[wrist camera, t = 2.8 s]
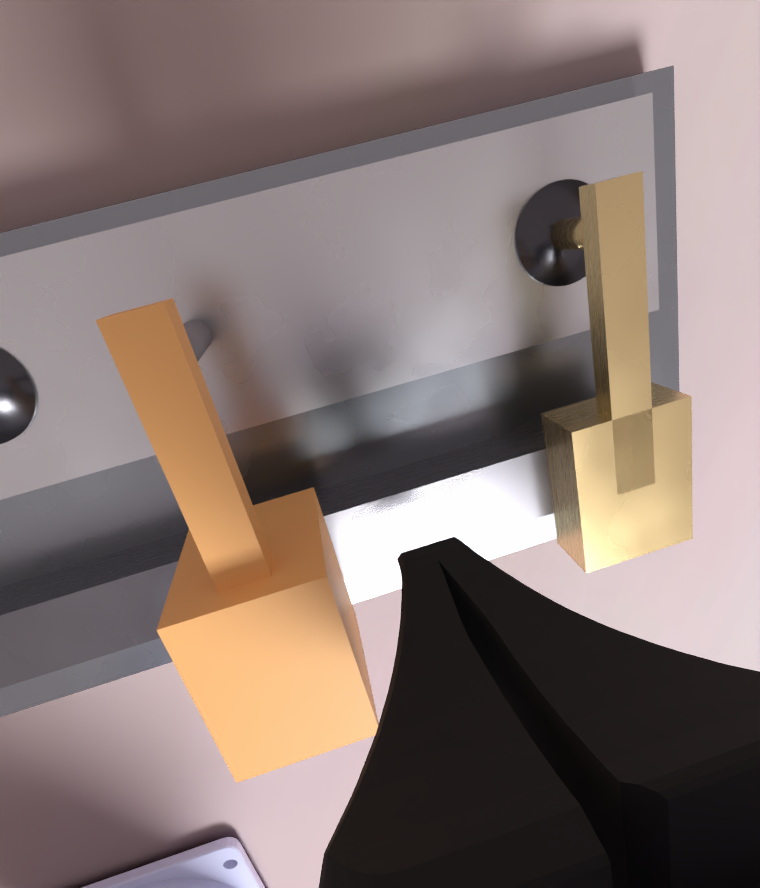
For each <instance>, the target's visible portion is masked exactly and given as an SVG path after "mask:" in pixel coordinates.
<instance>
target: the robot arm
mask: <svg viewBox="0 0 760 888" xmlns="http://www.w3.org/2000/svg"><path fill="white" fill-rule="evenodd" d="M397 561H398V564H399V568H400V572H401V581H402V602H401V621H400V629H399V637H398V645H397V652H396V658H395V663H394V668H393V673H392V677H391V682H390V686H389V690H388V694H387V698H386V701H385V705H384V708H383V712H382V715H381V719H380V722H379V725H378V728H377V732H376V735H375V737H374V740H373V743H372V746H371V748H370V751H369V754H368V756H367V759H366V761H365V764H364V767H363V769H362V772H361V774H360V777H359V779H358V782H357V785H356V787H355V789H354V792H353V794H352V796H351V798H350V801H349V803H348V805H347V807H346V809H345V811H344V813H343V815H342V817H341V819H340V821H339V824H338V826H337V828H336V830H335V832H334V834H333V836H332V838H331V840H330V842H329V844H328V846H327V849H326V851H325V853H324V858H323V864H322V870H321V877H320V884H319V888H760V672H758V671H754V670H749V669H744V668H740V667H735V666H731V665H726V664H722V663H718V662H715V661H711V660H708V659H704V658H700V657H697V656H693V655H690V654H686V653H682V652H679V651H676V650H673V649H669V648H666V647H663V646H660V645H657V644H654V643H651V642H648V641H645V640H643V639H640V638H637V637H634V636H631V635H629V634H626V633H623V632H620V631H618V630H615V629H613V628H610V627H608V626H605V625H603V624H600V623H598V622H596V621H594V620H591V619H589V618H587V617H585V616H582V615H580V614H578V613H576V612H574V611H571V610H569V609H567V608H565V607H564V606H562V605H560V604H558V603H556V602H554V601H552V600H550V599H549V598H547V597H545V596H543V595H541V594H540V593H538V592H536V591H534V590H533V589H531V588H529V587H528V586H526V585H524V584H523V583H521V582H520V581H518V580H516V579H515V578H513V577H512V576H510V575H509V574H507V573H505V572H504V571H502V570H501V569H499V568H498V567H496V566H495V565H493V564H492V563H491V562H489V561H488V560H486V559H485V558H484V557H482V556H481V555H479V554H478V553H477V552H475V551H474V550H473V549H471V548H470V547H469V546H467V545H466V544H465V543H463V542H462V541H461V540H460V539H458V538H456V537H451V538H447V539H444V540H441V541H438V542H435V543H431V544H428V545H425V546H422V547H419V548H415V549H412V550H409V551H406V552H403V553H401V554H400V555H399V557H398V558H397ZM81 888H265V887H264V885H263V883H262V881H261V879H260V878H259V876H258V874H257V872H256V870H255V869H254V867H253V865H252V863H251V862H250V860H249V858H248V856H247V854H246V853H245V851H244V849H243V847H242V845H241V844H240V842H239V841H238V840H237V839H236V838H233V837H225V838H221V839H218V840H215V841H212V842H210V843H207V844H204V845H201V846H198V847H195V848H192V849H190V850H187V851H184V852H181V853H178V854H175V855H173V856H170V857H167V858H164V859H161V860H158V861H155V862H153V863H150V864H147V865H144V866H141V867H138V868H136V869H133V870H130V871H127V872H124V873H121V874H118V875H116V876H113V877H110V878H107V879H104V880H101V881H98V882H96V883H93V884H90V885H87V886H84V887H81Z"/></svg>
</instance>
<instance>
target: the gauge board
mask: <svg viewBox="0 0 760 888" xmlns="http://www.w3.org/2000/svg"><path fill="white" fill-rule="evenodd" d="M171 298H173V299H174V302H175V304H176V307H177V310H178V312H179V315H180V317H181V320H182V323H183V324H184V323H186V322H188V321H193V320H194V321H199V322H202V323H204V324H205V325H206V326H207V327H208V328H209V330H210V332H211V336H212V340H211V344H210V346H209V347H208V348H207V350H206V351H205V353H204V354H203V355H202V357H201V358H200V360H199V361H198V364H199V367H200V369H201V372H202V375H203V377H204V380H205V382H206V385H207V388H208V390H209V393H210V395H211V398H212V400H213V403H214V406H215V408H216V411H217V413H218V416H219V419H220V421H221V424H222V426H223V429H224V432H225V434H226V437H227V439H228V442H229V445H230V447H231V450H232V452H233V455H234V458H235V460H236V463H237V465H238V468H239V471H240V473H241V476H242V478H243V481H244V484H245V486H246V489H247V491H248V494H249V497H250V499H251V502H252V504H253V505H256V504H259V503H263V502H266V501H269V500H273V499H276V498H279V497H283V496H286V495H289V494H292V493H296V492H299V491H302V490H306V489H309V488H312V487H314V489H315V492H316V495H317V499H318V502H319V505H320V508H321V511H322V514H323V517H324V520H325V523H326V526H327V529H328V532H329V535H330V538H331V541H332V544H333V547H334V550H335V553H336V557H337V560H338V563H339V566H340V569H341V572H342V575H343V578H344V581H345V584H346V587H347V590H348V593H349V596H350V599H351V602H352V604H354V603H357V602H360V601H363V600H366V599H369V598H372V597H375V596H378V595H382V594H385V593H388V592H391V591H394V590H397V589H400V588H402V581H401V572H400V568H399V564H398V561H397V558H398V557H399V555H400V554H401V553H403V552H406V551H409V550H412V549H415V548H419V547H422V546H425V545H428V544H431V543H435V542H438V541H441V540H444V539H447V538H451V537H456V538H458V539H460V540H461V541H462V542H463V543H465V544H466V545H467V546H469V547H470V548H471V549H473V550H474V551H475V552H477V553H478V554H479V555H481V556H482V557H484V558H485V559H486V560H491V559H494V558H497V557H500V556H503V555H506V554H509V553H512V552H515V551H519V550H522V549H525V548H528V547H531V546H534V545H537V544H540V543H543V542H547V541H550V540H553V539H556V538H557V542H558V544H559V545H560V546H561V547H562V548H563V549H564V550H565V551H566V552H567V553H568V555H569V556H570V557H571V558H572V559H573V560H574V561H575V562H576V563H577V564H578V565H579V566H580V567H581V568H582V569H583V570H584V571H585V572H586V573H589V572H592V571H595V570H598V569H601V568H604V567H607V566H610V565H613V564H617V563H620V562H623V561H626V560H629V559H632V558H635V557H638V556H641V555H644V554H647V553H650V552H653V551H656V550H659V549H662V548H665V547H668V546H671V545H674V544H677V543H680V542H683V541H687V540H690V539H693V537H692V411H691V396H689V395H687V394H684V393H681V392H679V349H678V292H677V234H676V177H675V119H674V66H670V67H666V68H662V69H658V70H654V71H650V72H646V73H642V74H637V75H633V76H629V77H625V78H621V79H617V80H613V81H609V82H605V83H601V84H597V85H593V86H589V87H585V88H581V89H577V90H573V91H569V92H565V93H561V94H557V95H553V96H549V97H545V98H541V99H537V100H533V101H529V102H525V103H521V104H517V105H513V106H509V107H505V108H501V109H497V110H493V111H489V112H485V113H481V114H477V115H473V116H469V117H465V118H461V119H457V120H452V121H448V122H444V123H440V124H436V125H432V126H428V127H424V128H420V129H416V130H412V131H408V132H404V133H400V134H396V135H392V136H388V137H384V138H380V139H376V140H372V141H368V142H364V143H360V144H356V145H352V146H348V147H344V148H340V149H336V150H332V151H328V152H324V153H320V154H316V155H312V156H308V157H304V158H300V159H296V160H292V161H288V162H284V163H280V164H276V165H272V166H268V167H263V168H259V169H255V170H251V171H247V172H243V173H239V174H235V175H231V176H227V177H223V178H219V179H215V180H211V181H207V182H203V183H199V184H195V185H191V186H187V187H183V188H179V189H175V190H171V191H167V192H163V193H159V194H155V195H151V196H147V197H143V198H139V199H135V200H131V201H127V202H123V203H119V204H115V205H111V206H107V207H103V208H99V209H95V210H91V211H87V212H83V213H78V214H74V215H70V216H66V217H62V218H58V219H54V220H50V221H46V222H42V223H38V224H34V225H30V226H26V227H22V228H18V229H14V230H10V231H6V232H2V233H0V717H2V716H5V715H8V714H11V713H14V712H17V711H20V710H23V709H27V708H30V707H33V706H36V705H39V704H42V703H45V702H48V701H51V700H55V699H58V698H61V697H64V696H67V695H70V694H73V693H76V692H79V691H83V690H86V689H89V688H92V687H95V686H98V685H101V684H104V683H108V682H111V681H114V680H117V679H120V678H123V677H126V676H129V675H132V674H136V673H139V672H142V671H145V670H148V669H151V668H154V667H157V666H160V665H164V664H167V663H170V662H173V661H172V659H171V657H170V655H169V653H168V651H167V649H166V647H165V646H164V644H163V642H162V640H161V638H160V636H159V634H158V632H157V627H158V624H159V621H160V618H161V615H162V611H163V608H164V605H165V602H166V599H167V596H168V593H169V590H170V587H171V583H172V580H173V577H174V574H175V571H176V568H177V565H178V562H179V559H180V555H181V552H182V549H183V546H184V543H185V540H186V537H187V534H188V531H189V527H188V525H187V523H186V521H185V518H184V516H183V514H182V512H181V509H180V507H179V505H178V503H177V501H176V498H175V496H174V494H173V492H172V489H171V487H170V485H169V483H168V480H167V478H166V476H165V474H164V472H163V469H162V467H161V465H160V463H159V460H158V458H157V456H156V454H155V451H154V449H153V447H152V445H151V443H150V440H149V438H148V436H147V434H146V431H145V429H144V427H143V425H142V422H141V420H140V418H139V416H138V414H137V411H136V409H135V407H134V405H133V402H132V400H131V398H130V396H129V394H128V391H127V389H126V387H125V385H124V382H123V380H122V378H121V376H120V373H119V371H118V369H117V367H116V365H115V362H114V360H113V358H112V356H111V353H110V351H109V349H108V347H107V344H106V342H105V340H104V338H103V336H102V333H101V331H100V329H99V327H98V324H97V322H96V320H98V319H100V318H103V317H105V316H108V315H111V314H115V313H118V312H122V311H126V310H130V309H133V308H137V307H141V306H145V305H148V304H152V303H156V302H160V301H164V300H167V299H171Z"/></svg>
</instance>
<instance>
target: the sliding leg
mask: <svg viewBox="0 0 760 888" xmlns="http://www.w3.org/2000/svg"><path fill="white" fill-rule="evenodd" d="M96 322H97V324H98V327H99V329H100V331H101V333H102V336H103V338H104V340H105V342H106V344H107V347H108V349H109V351H110V353H111V356H112V358H113V360H114V362H115V365H116V367H117V369H118V371H119V373H120V376H121V378H122V380H123V382H124V385H125V387H126V389H127V391H128V394H129V396H130V398H131V400H132V402H133V405H134V407H135V409H136V411H137V414H138V416H139V418H140V420H141V422H142V425H143V427H144V429H145V431H146V434H147V436H148V438H149V440H150V443H151V445H152V447H153V449H154V451H155V454H156V456H157V458H158V460H159V463H160V465H161V467H162V469H163V472H164V474H165V476H166V478H167V480H168V483H169V485H170V487H171V489H172V492H173V494H174V496H175V498H176V501H177V503H178V505H179V507H180V509H181V512H182V514H183V516H184V518H185V521H186V523H187V525H188V527H189V531H188V534H187V537H186V540H185V543H184V546H183V549H182V552H181V555H180V559H179V562H178V565H177V568H176V571H175V574H174V577H173V580H172V583H171V587H170V590H169V593H168V596H167V599H166V602H165V605H164V608H163V611H162V615H161V618H160V621H159V624H158V627H157V632H158V634H159V636H160V638H161V640H162V642H163V644H164V646H165V647H166V649H167V651H168V653H169V655H170V657H171V659H172V661H173V663H174V665H175V667H176V668H177V670H178V672H179V674H180V676H181V678H182V680H183V682H184V684H185V686H186V688H187V689H188V691H189V693H190V695H191V697H192V699H193V701H194V703H195V705H196V707H197V709H198V710H199V712H200V714H201V716H202V718H203V720H204V722H205V724H206V726H207V728H208V730H209V731H210V733H211V735H212V737H213V739H214V741H215V743H216V745H217V747H218V749H219V751H220V752H221V754H222V756H223V758H224V760H225V762H226V764H227V766H228V768H229V770H230V772H231V774H232V775H233V777H234V779H235V781H236V783H238V782H240V781H243V780H246V779H249V778H252V777H255V776H258V775H261V774H264V773H267V772H270V771H273V770H275V769H278V768H281V767H284V766H287V765H290V764H293V763H296V762H299V761H302V760H305V759H307V758H310V757H313V756H316V755H319V754H322V753H325V752H328V751H331V750H334V749H337V748H340V747H342V746H345V745H348V744H351V743H354V742H357V741H360V740H363V739H366V738H369V737H372V736H375V735H376V732H377V728H378V725H379V724H378V719H377V714H376V709H375V705H374V700H373V695H372V690H371V685H370V681H369V676H368V671H367V666H366V662H365V657H364V652H363V647H362V643H361V638H360V633H359V628H358V624H357V619H356V615H355V612H354V608H353V605H352V602H351V599H350V596H349V593H348V590H347V587H346V584H345V581H344V578H343V575H342V572H341V569H340V566H339V563H338V560H337V557H336V553H335V550H334V547H333V544H332V541H331V538H330V535H329V532H328V529H327V526H326V523H325V520H324V517H323V514H322V511H321V508H320V505H319V502H318V499H317V495H316V492H315V489H314V487H312V488H309V489H306V490H302V491H299V492H296V493H292V494H289V495H286V496H283V497H279V498H276V499H273V500H269V501H266V502H263V503H259V504H256V505H253V504H252V502H251V499H250V497H249V494H248V491H247V489H246V486H245V484H244V481H243V478H242V476H241V473H240V471H239V468H238V465H237V463H236V460H235V458H234V455H233V452H232V450H231V447H230V445H229V442H228V439H227V437H226V434H225V432H224V429H223V426H222V424H221V421H220V419H219V416H218V413H217V411H216V408H215V406H214V403H213V400H212V398H211V395H210V393H209V390H208V388H207V385H206V382H205V380H204V377H203V375H202V372H201V369H200V367H199V364H198V361H199V360H200V358H201V357H202V355H203V354H204V353H205V351H206V350H207V348H208V347H209V346H210V344H211V340H212V336H211V332H210V330H209V328H208V327H207V326H206V325H205V324H204V323H202V322H199V321H194V320H193V321H188V322H186V323H184V324H183V323H182V320H181V317H180V315H179V312H178V310H177V307H176V304H175V302H174V299H173V298H171V299H167V300H164V301H160V302H156V303H152V304H148V305H145V306H141V307H137V308H133V309H130V310H126V311H122V312H118V313H115V314H111V315H108V316H105V317H103V318H100V319H98V320H96Z"/></svg>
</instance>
